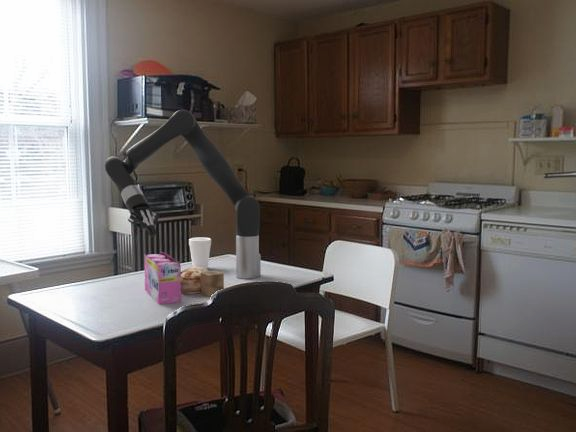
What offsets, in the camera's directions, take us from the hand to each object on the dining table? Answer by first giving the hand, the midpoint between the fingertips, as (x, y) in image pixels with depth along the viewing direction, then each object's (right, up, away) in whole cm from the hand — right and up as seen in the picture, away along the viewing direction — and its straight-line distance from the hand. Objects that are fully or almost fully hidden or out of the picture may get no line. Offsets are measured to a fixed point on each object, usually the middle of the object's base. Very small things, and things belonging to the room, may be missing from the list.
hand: (154, 235), depth 197 cm
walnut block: (+22, -21, -3) cm, 31 cm away
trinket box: (+14, -21, +5) cm, 26 cm away
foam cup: (+10, -16, +40) cm, 45 cm away
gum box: (+4, -22, -4) cm, 22 cm away
